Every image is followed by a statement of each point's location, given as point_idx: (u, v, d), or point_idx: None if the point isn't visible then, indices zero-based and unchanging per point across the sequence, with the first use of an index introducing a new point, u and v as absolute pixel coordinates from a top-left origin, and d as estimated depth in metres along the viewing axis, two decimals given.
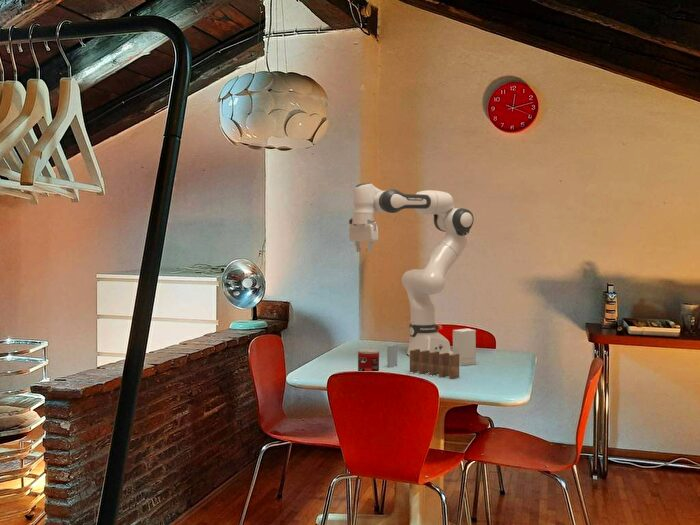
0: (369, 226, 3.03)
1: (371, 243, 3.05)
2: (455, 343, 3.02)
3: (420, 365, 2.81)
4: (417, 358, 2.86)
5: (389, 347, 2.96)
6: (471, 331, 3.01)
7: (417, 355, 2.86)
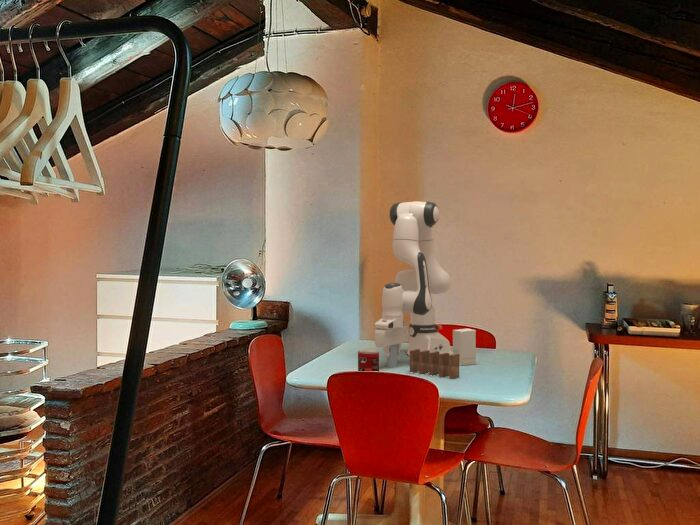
0: (406, 327, 3.03)
1: None
2: (455, 343, 3.02)
3: (420, 365, 2.81)
4: (417, 358, 2.86)
5: (389, 347, 2.96)
6: (471, 331, 3.01)
7: (417, 355, 2.86)
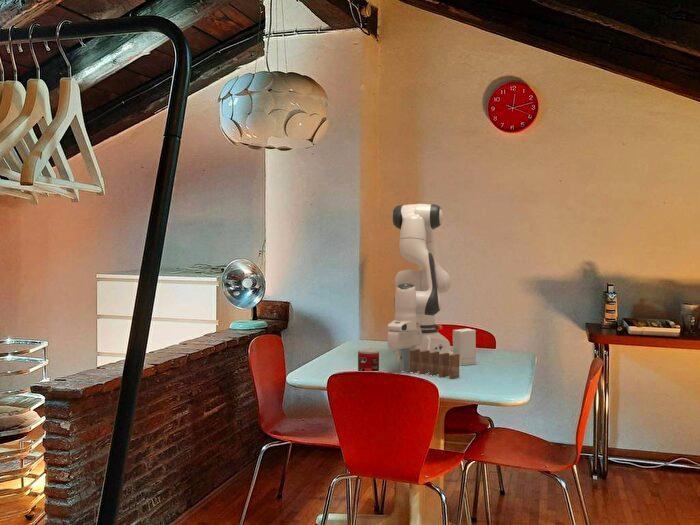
0: (420, 329, 2.94)
1: None
2: (455, 343, 3.02)
3: (420, 365, 2.81)
4: (417, 358, 2.86)
5: (402, 351, 2.86)
6: (471, 331, 3.01)
7: (417, 355, 2.86)
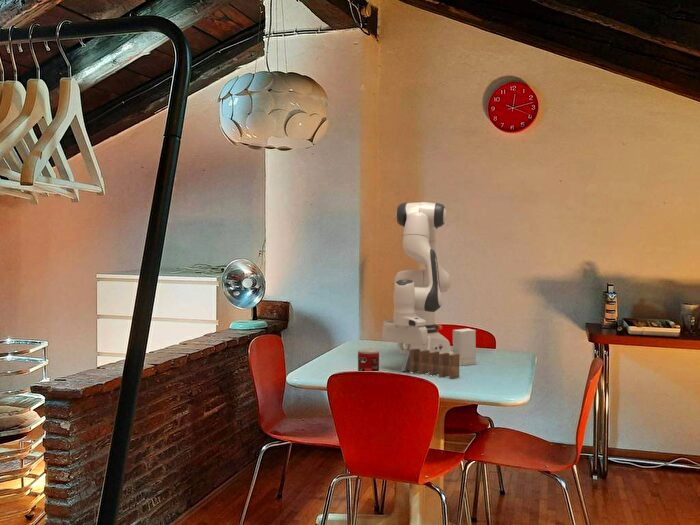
0: None
1: None
2: (455, 343, 3.02)
3: (420, 365, 2.81)
4: (417, 358, 2.86)
5: (408, 352, 2.85)
6: (471, 331, 3.01)
7: (417, 355, 2.86)
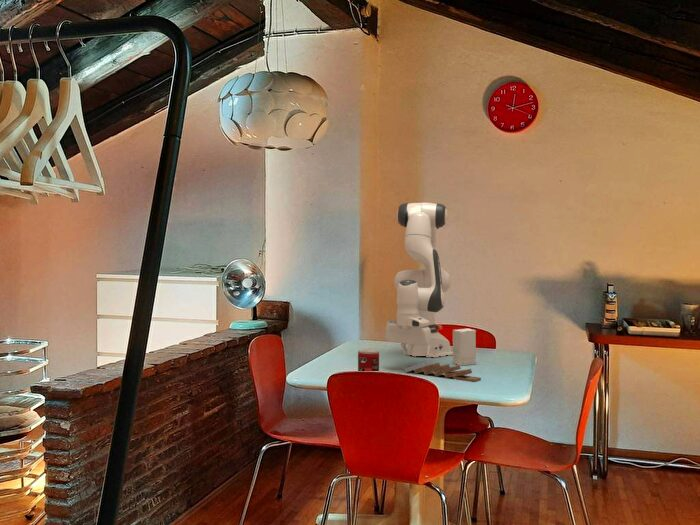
0: None
1: None
2: (455, 343, 3.02)
3: (431, 370, 2.78)
4: None
5: (421, 366, 2.81)
6: (471, 331, 3.01)
7: None
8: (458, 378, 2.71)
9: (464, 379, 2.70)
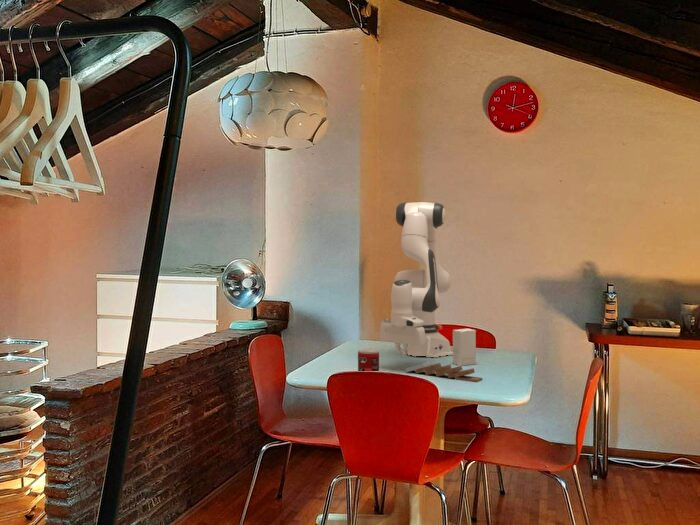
0: None
1: None
2: (455, 343, 3.02)
3: (432, 370, 2.78)
4: None
5: (422, 366, 2.81)
6: (471, 331, 3.01)
7: None
8: (460, 378, 2.71)
9: (466, 379, 2.69)
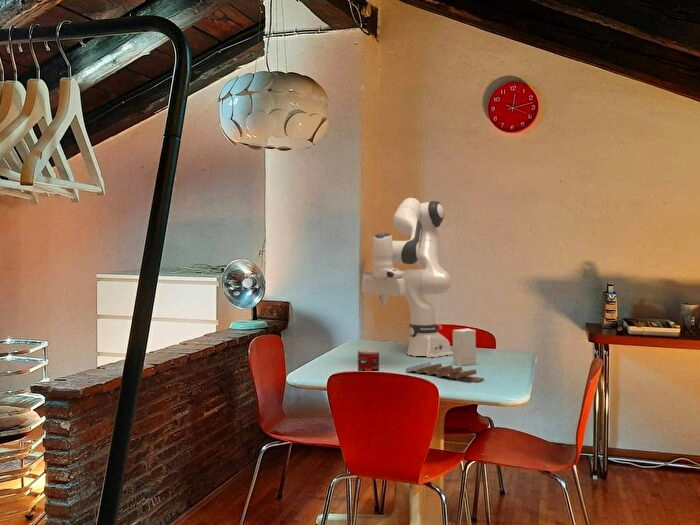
0: None
1: None
2: (455, 343, 3.02)
3: (433, 371, 2.78)
4: None
5: (423, 366, 2.81)
6: (471, 331, 3.01)
7: None
8: (461, 379, 2.70)
9: (467, 380, 2.68)
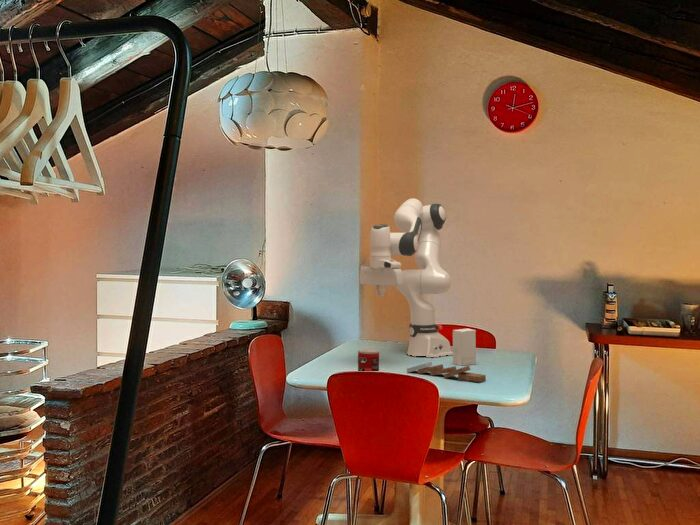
0: None
1: None
2: (455, 343, 3.02)
3: (437, 371, 2.77)
4: None
5: (424, 366, 2.81)
6: (471, 331, 3.01)
7: None
8: (463, 379, 2.70)
9: (469, 380, 2.68)
